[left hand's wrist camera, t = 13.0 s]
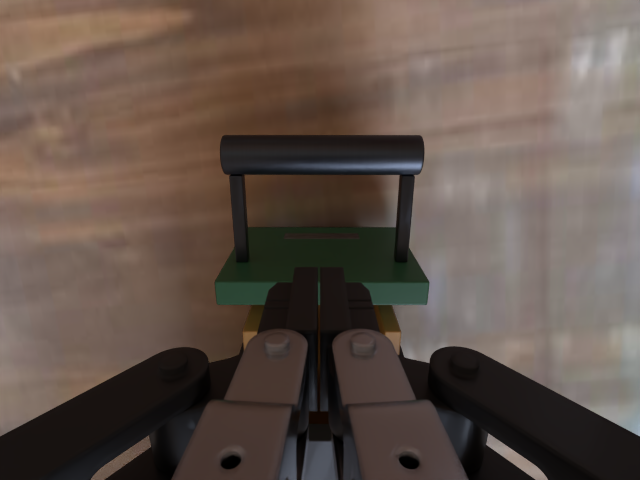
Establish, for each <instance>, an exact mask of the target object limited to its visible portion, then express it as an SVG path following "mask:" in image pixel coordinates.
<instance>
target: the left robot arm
mask: <svg viewBox="0 0 640 480" xmlns="http://www.w3.org/2000/svg"><path fill="white" fill-rule="evenodd" d="M317 394H318V267H295V269H294V275H293V282H277V283H276V284H275V285H274V286H273V287H272V288H271V289H269V290H268V294H267V298H266V302H265V305H264V309H263V313H262V317H261V320H260V324H259V328H258V332H257V335H255V336H254V337H252V338H251V339H250V340H249V342H248V343H247V345H246V348H245V350H244V352H243V353H241V354H239V355H237V356H235V357H232V358H229V359H225V360H220V361H215V362H211V363H209V361H208V357H207V356H206V354H205V353H204V352H202V351H200V350H198V349H195V348H189V347H181V348H173V349H169V350H166V351H163V352H160V353H158V354H156V355H154V356H152V357H150V358H149V359H147V360H145V361H143V362H141V363H139V364H137V365H135V366H133V367H131V368H130V369H128V370H126V371H124V372H122V373H120V374H118V375H116V376H114V377H112V378H111V379H109V380H107V381H105V382H103V383H101V384H99V385H97V386H95V387H93V388H92V389H90V390H88V391H86V392H84V393H82V394H80V395H78V396H76V397H74V398H73V399H71V400H69V401H67V402H65V403H63V404H61V405H59V406H57V407H55V408H54V409H52V410H50V411H48V412H46V413H44V414H42V415H40V416H38V417H36V418H35V419H33V420H31V421H29V422H27V423H25V424H23V425H21V426H19V427H17V428H16V429H14V430H12V431H10V432H8V433H6V434H4V435H2V436H0V480H90V479H91V478H92V477H93V475H94V474H95V473H96V472H97V471H98V470H99V469H100V468H101V467H103V466H104V465H105V464H107V463H108V462H110V461H111V460H113V459H114V458H116V457H117V456H119V455H120V454H122V453H123V452H125V451H126V450H127V449H129V448H130V447H132V446H133V445H135V444H136V443H138V442H139V441H141V440H142V439H144V438H145V437H147V436H148V435H149V437H150V442H151V447H150V448H149V449H147V450H146V451H145V452H143V453H142V454H140V455H139V456H138V457H136V458H135V459H133V460H132V461H130V462H129V463H128V464H126V465H125V466H123V467H122V468H121V469H119V470H118V471H116V472H115V473H113V474H112V475H111V476H109V477H108V478H106V479H105V480H304V475H305V467H306V459H307V451H308V443H309V411H317ZM320 411H328V420H329V426H330V429H331V443H332V451H333V459H334V467H335V475H336V480H535V479H534V478H532V477H531V476H529V475H528V474H526V473H525V472H524V471H522V470H521V469H519V468H518V467H517V466H515V465H514V464H512V463H511V462H510V461H508V460H507V459H505V458H504V457H502V456H501V455H500V454H498V453H497V452H495V451H494V450H493V449H491V448H490V447H488V446H487V445H486V442H487V437H488V433H489V434H490V435H492V436H493V437H495V438H496V439H498V440H499V441H501V442H502V443H504V444H505V445H507V446H508V447H510V448H511V449H513V450H514V451H515V452H517V453H518V454H520V455H521V456H523V457H524V458H526V459H527V460H529V461H530V462H532V463H533V464H534V465H536V466H537V467H538V468H539V469H540V470H541V471H542V472H543V473H544V474H545V476H546V477H547V478H548V480H640V436H638V435H636V434H634V433H632V432H630V431H628V430H626V429H624V428H623V427H621V426H619V425H617V424H615V423H613V422H611V421H609V420H607V419H605V418H604V417H602V416H600V415H598V414H596V413H594V412H592V411H590V410H588V409H586V408H585V407H583V406H581V405H579V404H577V403H575V402H573V401H571V400H569V399H567V398H566V397H564V396H562V395H560V394H558V393H556V392H554V391H552V390H550V389H548V388H547V387H545V386H543V385H541V384H539V383H537V382H535V381H533V380H531V379H529V378H528V377H526V376H524V375H522V374H520V373H518V372H516V371H514V370H512V369H510V368H509V367H507V366H505V365H503V364H501V363H499V362H497V361H495V360H493V359H491V358H490V357H488V356H486V355H484V354H482V353H480V352H478V351H475V350H472V349H469V348H464V347H455V346H454V347H444V348H441V349H438V350H436V351H435V352H434V353H433V354H432V355H431V358H430V363H426V362H421V361H416V360H412V359H408V358H405V357H402V356H400V355H398V354H397V353H396V350H395V348H394V345H393V343H392V342H391V340H390V339H389V338H388V337H386V336H385V335H383V334H382V333H380V330H379V326H378V322H377V318H376V314H375V310H374V307H373V303H372V299H371V295H370V291H369V290H368V289H367V288H366V287H365V286H364V285H363V284H362V283H361V282H345V276H344V269H343V267H320Z"/></svg>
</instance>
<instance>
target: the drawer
mask: <svg viewBox="0 0 640 480" xmlns="http://www.w3.org/2000/svg"><path fill="white" fill-rule="evenodd" d="M220 160H221V166H222V169H223V172H224V173H225V174H227V175H230V176H229V179H230V192H231V204H232V217H233V230H234V242H235V247H234V249H233V251H232V252H231V254H230V256H229V258H228V259H227V261H226V263H225V265H224V266H223V268H222V270H221V272H220V273H219V275H218V277H217V279H216V280H215V291H216V301H217V304H218V305H251V307H250V310H249V313H248V316H247V319H246V322H245V325H244V329H243V332H242V333H243V346H244V350H245V348H246V345H247V343H248V342H249V340H250V339H251V338H252V337H254V336H255V335H257V332H258V328H259V324H260V320H261V317H262V313H263V309H264V305H265V302H266V298H267V294H268V290H269V289H271V288H272V287H273V286H274V285H275V284H276V283H277V282H293V275H294V269H295V267H318V394H317V411H309V424H329V420H328V411H320V267H343V269H344V276H345V282H361V283H362V284H363V285H364V286H365V287H366V288H367V289H368V290H369V291H370V295H371V299H372V303H373V307H374V310H375V314H376V318H377V322H378V326H379V330H380V333H382V334H383V335H385V336H386V337H388V338H389V339H390V340H391V342H392V343H393V345H394V348H395V350H396V353H397V354H398V355H399V352H400V340H401V330H400V327H399V324H398V321H397V318H396V316H395V313H394V310H393V307H392V305H427V300H428V291H429V281H428V279H427V277H426V276H425V274H424V272H423V271H422V269H421V267H420V265H419V264H418V262H417V260H416V259H415V257H414V255H413V254H412V252H411V250H410V249H409V238H410V227H411V215H412V203H413V191H414V179H415V176H414V175H418V174H420V172H421V170H422V167H423V162H424V142H423V138H422V136H420V135H224V136H223V137H222V139H221V143H220ZM244 175H400V178H399V192H398V206H397V220H396V227H248V224H247V209H246V193H245V178H244Z"/></svg>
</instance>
